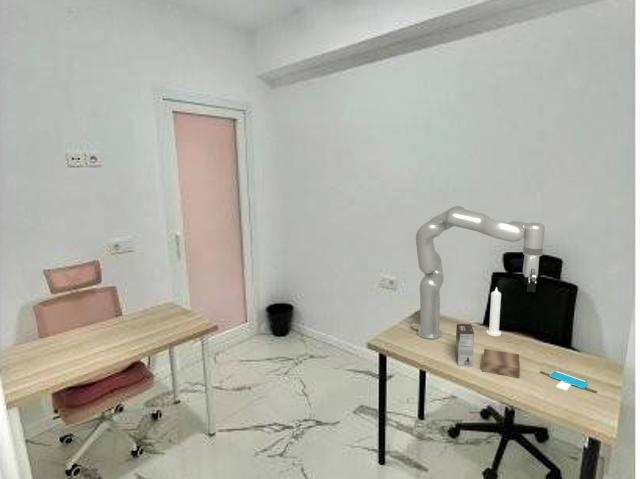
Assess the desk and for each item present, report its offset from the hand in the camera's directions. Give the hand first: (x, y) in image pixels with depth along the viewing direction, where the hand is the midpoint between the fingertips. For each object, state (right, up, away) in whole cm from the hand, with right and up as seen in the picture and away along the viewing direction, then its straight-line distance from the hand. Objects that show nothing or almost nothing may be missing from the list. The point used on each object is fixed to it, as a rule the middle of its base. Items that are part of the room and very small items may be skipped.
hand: (529, 287), depth 173 cm
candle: (-5, -26, +24) cm, 36 cm away
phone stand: (+5, -36, -19) cm, 41 cm away
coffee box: (-29, -33, 0) cm, 44 cm away
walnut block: (-16, -34, -6) cm, 38 cm away
